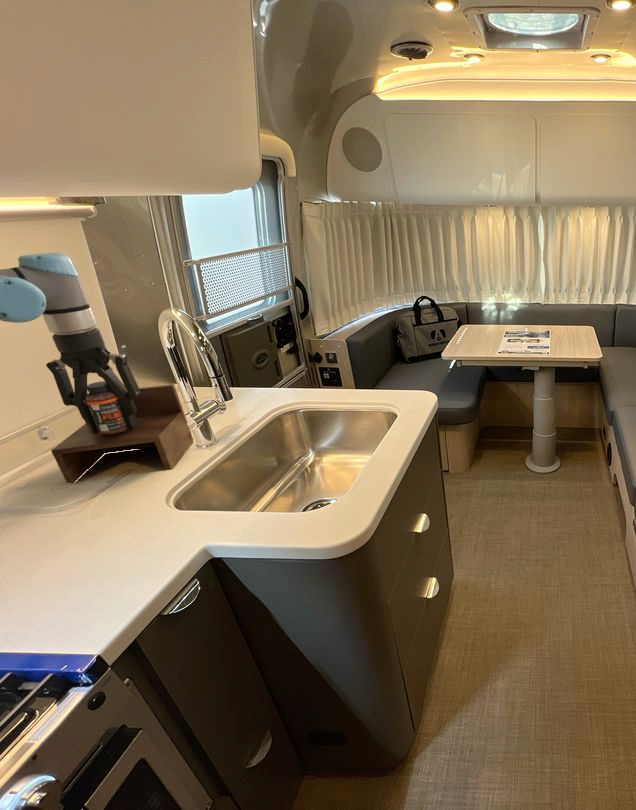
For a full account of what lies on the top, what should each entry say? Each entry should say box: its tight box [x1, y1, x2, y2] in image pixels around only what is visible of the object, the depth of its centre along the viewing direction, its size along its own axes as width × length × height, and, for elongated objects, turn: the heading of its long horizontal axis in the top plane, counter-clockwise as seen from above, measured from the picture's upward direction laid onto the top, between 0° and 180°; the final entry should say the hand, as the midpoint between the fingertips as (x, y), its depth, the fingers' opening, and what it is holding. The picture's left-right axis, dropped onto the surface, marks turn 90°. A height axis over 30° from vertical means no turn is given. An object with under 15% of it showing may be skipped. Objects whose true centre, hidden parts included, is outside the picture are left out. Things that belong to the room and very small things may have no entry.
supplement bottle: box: [86, 380, 129, 435], centre depth 108 cm, size 6×6×11 cm
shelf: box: [50, 384, 194, 485], centre depth 113 cm, size 15×20×16 cm
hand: (116, 428), depth 110 cm, fingers closed on supplement bottle, 6 cm apart
